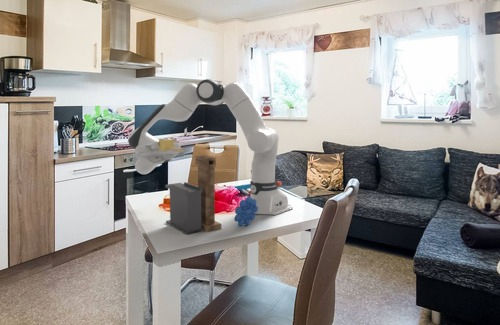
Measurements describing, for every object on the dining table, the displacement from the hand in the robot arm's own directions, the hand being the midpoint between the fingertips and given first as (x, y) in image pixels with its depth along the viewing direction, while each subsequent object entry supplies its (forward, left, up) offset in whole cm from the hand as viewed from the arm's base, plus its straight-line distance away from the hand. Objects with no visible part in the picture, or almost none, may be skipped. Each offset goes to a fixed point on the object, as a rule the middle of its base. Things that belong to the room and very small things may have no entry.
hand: (164, 142), depth 157 cm
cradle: (+1, +17, -33) cm, 37 cm away
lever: (-56, -15, -33) cm, 67 cm away
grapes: (-21, +30, -33) cm, 49 cm away
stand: (-7, +22, -33) cm, 40 cm away
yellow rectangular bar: (0, +8, -3) cm, 8 cm away
